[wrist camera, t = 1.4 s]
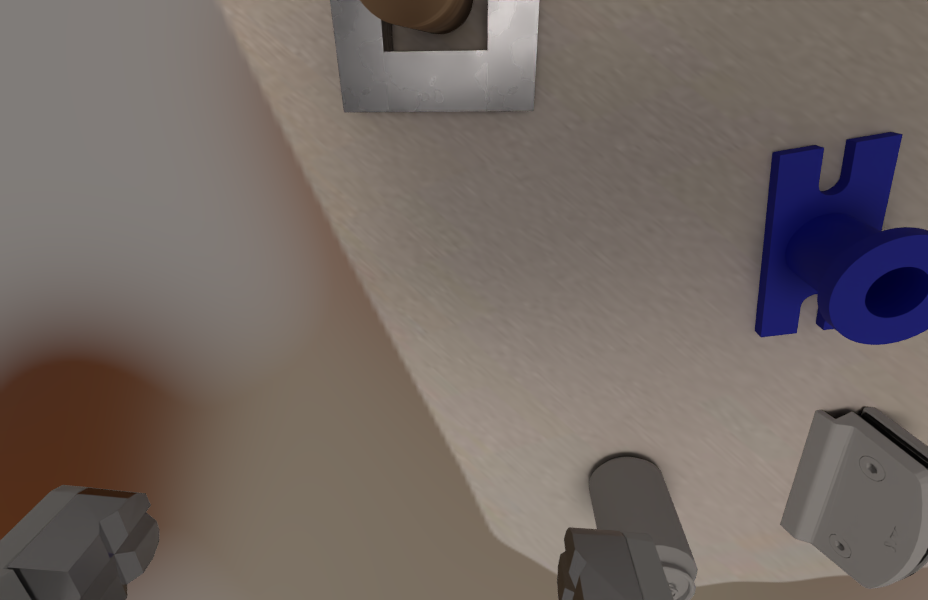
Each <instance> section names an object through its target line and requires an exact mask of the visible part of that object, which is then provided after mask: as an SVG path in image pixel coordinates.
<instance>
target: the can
mask: <svg viewBox="0 0 928 600" xmlns="http://www.w3.org/2000/svg"><path fill="white" fill-rule="evenodd" d="M589 491H590V496H591V501H592V506H593V511H594V516H595V521H596V526H597V529H601V530H616V531H620V532H632V533H646V534H649V535H650V536H651V538H652V539H653V541H654V543H655V546H656V549H657V552H658V555H659V558H660V561H661V564H662V567H663V570H664V572H665V575H666V578H667V581H668V584H669V587H670V590H671V593H672V596H673V599H674V600H690V599H691V598H692V597H693V595H694V594H695V589H696V586H695V583H694V580H695V578H696V574H697V570H698V569H697V566H696V563H695V560H694V558H693V555H692V552H691V550H690V547H689V544H688V542H687V539H686V536H685V534H684V531H683V528H682V526H681V523H680V520H679V518H678V515H677V512H676V510H675V507H674V504H673V502H672V499H671V497H670V494H669V491H668V489H667V486H666V483H665V481H664V478H663V475H662V473H661V471H660V470H659V469H658V468H657V467H656V466H655V465H654V464H652V463H650V462H648V461H646V460H643V459H639V458H634V457H618V458H614V459H611V460H609V461H607V462H605V463H604V464H602V465H601V466H600V467H598V468H597V469H596V470H595V471H594V472H593V474H592V476H591V478H590V480H589Z"/></svg>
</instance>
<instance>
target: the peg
mask: <svg viewBox="0 0 928 600" xmlns="http://www.w3.org/2000/svg"><path fill="white" fill-rule="evenodd" d="M360 1H361V2H362V4H363V5H364V6H365V7H366V8H367V9H368V10H369V11H370V12H371V13H372V14H373V15H375V16H376V17H378V18H379V19H381V20H383V21H385V22H388V23H391V24H395V25H399V26H403V27H408V28H412V29H417V30H421V31H426V32H430V33H435V34H444V33H449V32H451V31H453V30H455V29H457V28H458V27H459V26H461V25H462V24H463V22H464V21H465V20H466V18H467V17H468V15H469V13H470V11H471V8H472V4H473V0H360Z"/></svg>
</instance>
